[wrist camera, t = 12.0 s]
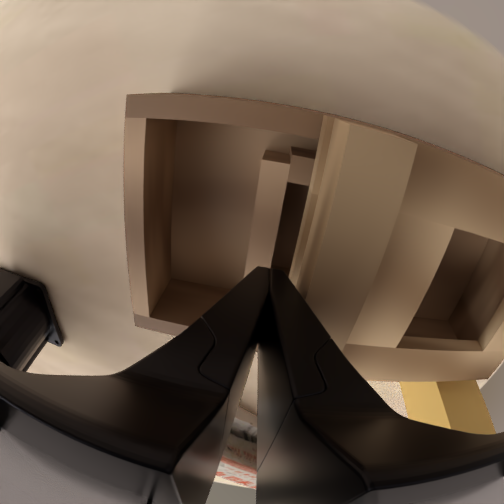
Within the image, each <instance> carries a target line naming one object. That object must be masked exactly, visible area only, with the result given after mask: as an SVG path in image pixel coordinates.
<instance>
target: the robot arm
mask: <svg viewBox="0 0 504 504" xmlns="http://www.w3.org/2000/svg"><path fill="white" fill-rule="evenodd" d="M47 342H50V343H52V344H54V345H57V346H62V344H63V343H64V342H63V339H62V336H61V333H60V331H59V328H58V325H57V322H56V319H55V316H54V313H53V310H52V307H51V304H50V301H49V297H48V294H47V291H46V288H45V286H44V285H43V284H42V283H40V282H37V281H34V280H31V279H28V278H25V277H22V276H19V275H16V274H14V273H11V272H8V271H5V270H3V269H0V504H205V503H206V500H207V498H208V495H209V492H210V489H211V487H212V484H213V481H214V478H215V475H216V472H217V469H218V466H219V463H220V460H221V457H222V455H223V452H224V449H225V446H226V443H227V440H228V437H229V434H230V431H231V427H232V424H233V421H234V418H235V415H236V412H237V409H238V406H239V403H240V400H241V396H242V393H243V390H244V387H245V384H246V381H247V377H248V374H249V371H250V368H251V364H252V361H253V358H254V355H255V351H256V348H257V345H258V400H257V474H256V504H504V479H503V477H504V432H501V433H498V434H475V433H468V432H463V431H458V430H453V429H449V428H444V427H440V426H435V425H431V424H427V423H423V422H419V421H415V420H411V419H408V418H406V417H403V416H401V415H400V414H398V413H396V412H395V411H394V410H393V409H391V408H390V407H389V406H388V405H387V404H386V403H385V401H384V400H383V399H382V398H381V397H380V396H379V395H378V394H377V392H376V391H375V390H374V389H373V388H372V387H371V386H370V385H369V384H368V382H367V381H366V380H365V379H364V378H363V377H362V376H361V375H360V374H359V372H358V371H357V370H356V369H355V368H354V366H353V365H352V364H351V363H350V362H349V361H348V359H347V358H346V357H345V355H344V354H343V353H342V351H341V350H340V349H339V347H338V346H337V344H336V343H335V342H334V340H333V339H331V336H330V335H329V333H328V332H327V331H326V329H325V328H324V326H323V325H322V323H321V322H320V321H319V319H318V318H317V316H316V315H315V314H314V312H313V311H312V309H311V308H310V307H309V305H308V304H307V302H306V301H305V300H304V298H303V297H302V295H301V294H300V293H299V291H298V290H297V288H296V287H295V286H294V284H293V283H292V281H291V280H290V279H289V277H288V276H287V274H286V273H285V272H284V271H283V270H279V269H273V268H271V269H270V268H267V267H261V266H257V267H256V268H255V269H253V270H252V271H251V272H250V273H249V274H248V275H247V276H246V277H245V278H243V279H242V280H241V281H240V282H239V283H238V284H237V285H236V286H234V287H233V288H232V289H231V290H230V291H229V292H228V293H227V294H225V295H224V296H223V297H222V298H221V299H220V300H219V301H218V302H217V303H215V304H214V305H213V306H212V307H211V308H210V309H209V310H207V311H206V312H205V313H204V314H203V315H202V316H201V317H200V318H198V319H197V320H196V321H195V322H194V323H193V324H191V325H190V326H189V327H188V328H187V329H185V330H184V331H183V332H182V333H180V334H179V335H178V336H176V337H175V338H173V339H172V340H170V341H169V342H168V343H166V344H165V345H163V346H162V347H160V348H158V349H157V350H155V351H154V352H152V353H151V354H149V355H148V356H146V357H144V358H143V359H141V360H140V361H138V362H137V363H135V364H133V365H132V366H130V367H128V368H127V369H125V370H123V371H121V372H118V373H115V374H112V375H104V376H74V375H45V374H34V373H28V372H26V371H27V370H28V368H29V367H30V365H31V364H32V363H33V361H34V360H35V358H36V357H37V355H38V354H39V353H40V351H41V350H42V349H43V347H44V346H45V344H46V343H47Z"/></svg>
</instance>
